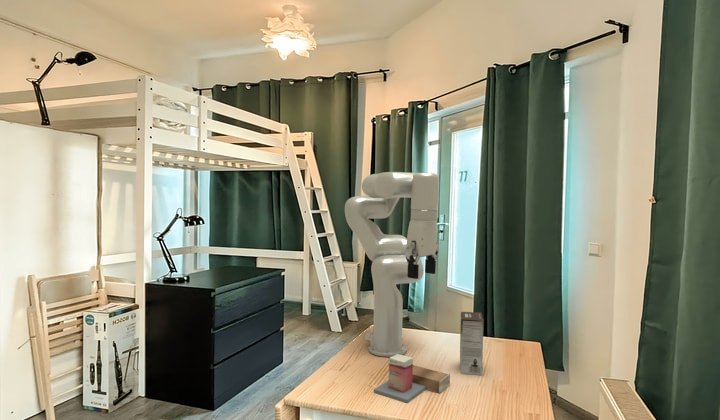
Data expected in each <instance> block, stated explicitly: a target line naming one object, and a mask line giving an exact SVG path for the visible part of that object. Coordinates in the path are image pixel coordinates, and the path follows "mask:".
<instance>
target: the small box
mask: <svg viewBox="0 0 720 420" xmlns="http://www.w3.org/2000/svg"><path fill="white" fill-rule="evenodd" d="M388 358H389V359H388V380H389V383H388V387H390V388H393V389H396V390H399V391H402V392H405V391H407V390H408V389H410V388H412V374H413V365H414V358H413V357H410V356H407V355H405V354H403V355H400V354H396V355H394V356H392V357H388Z"/></svg>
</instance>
